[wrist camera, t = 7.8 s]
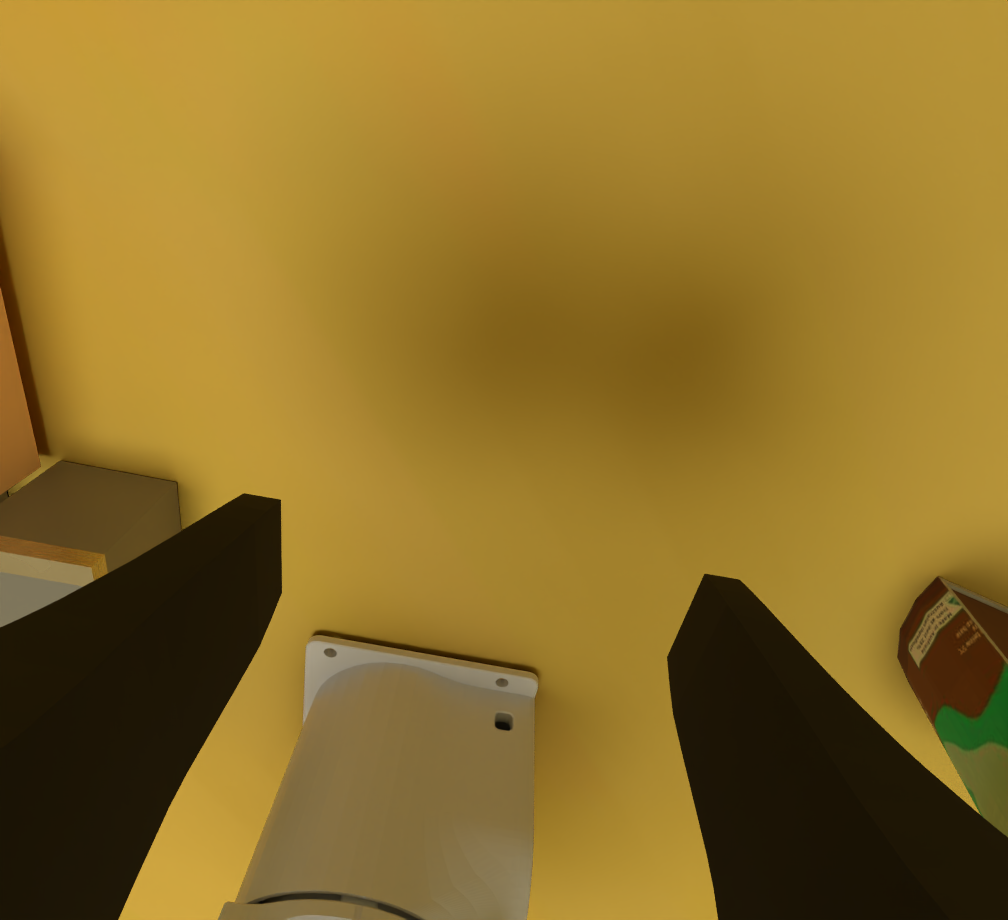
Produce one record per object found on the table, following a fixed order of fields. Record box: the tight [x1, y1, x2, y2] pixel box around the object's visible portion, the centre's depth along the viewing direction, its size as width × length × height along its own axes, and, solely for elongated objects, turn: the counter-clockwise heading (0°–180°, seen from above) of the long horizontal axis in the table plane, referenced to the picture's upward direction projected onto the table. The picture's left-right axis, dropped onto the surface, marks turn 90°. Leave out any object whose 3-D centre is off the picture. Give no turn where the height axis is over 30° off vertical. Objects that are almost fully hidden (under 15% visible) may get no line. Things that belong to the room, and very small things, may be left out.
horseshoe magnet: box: [0, 461, 181, 627], centre depth 21 cm, size 13×10×6 cm
